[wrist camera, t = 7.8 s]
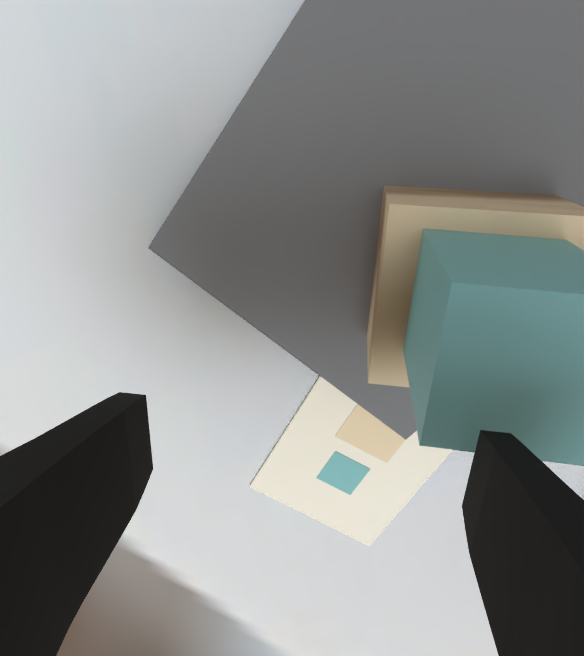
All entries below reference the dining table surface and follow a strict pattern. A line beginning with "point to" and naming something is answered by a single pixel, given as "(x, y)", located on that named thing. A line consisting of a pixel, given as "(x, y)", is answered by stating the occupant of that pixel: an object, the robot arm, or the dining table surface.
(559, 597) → the robot arm
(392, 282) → the base block
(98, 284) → the dining table surface
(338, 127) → the mat
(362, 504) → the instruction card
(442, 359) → the teal brick
